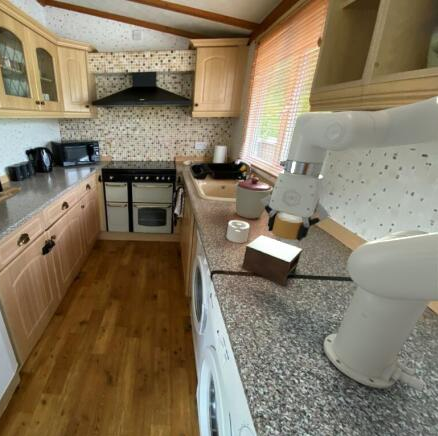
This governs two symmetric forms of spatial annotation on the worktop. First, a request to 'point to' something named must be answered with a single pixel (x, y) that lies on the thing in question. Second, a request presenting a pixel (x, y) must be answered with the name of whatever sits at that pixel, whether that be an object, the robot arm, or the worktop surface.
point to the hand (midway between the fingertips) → (285, 233)
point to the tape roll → (287, 226)
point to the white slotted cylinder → (237, 231)
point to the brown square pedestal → (271, 259)
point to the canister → (251, 198)
